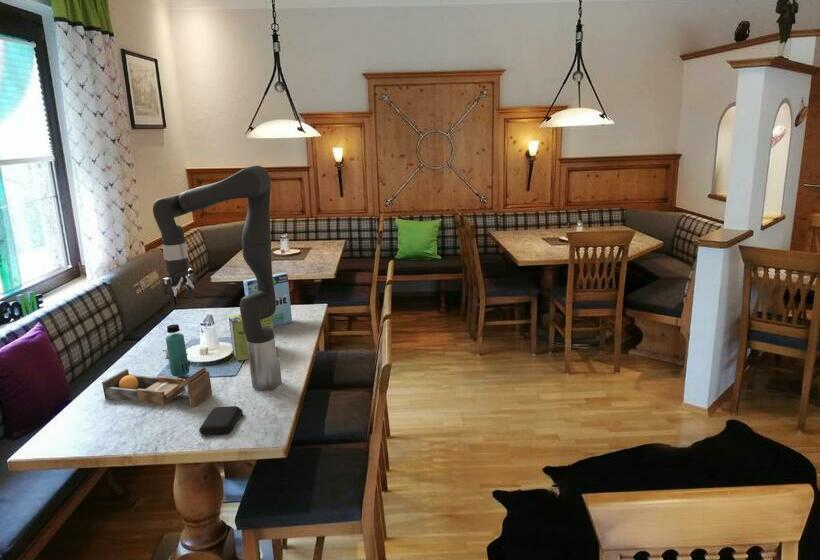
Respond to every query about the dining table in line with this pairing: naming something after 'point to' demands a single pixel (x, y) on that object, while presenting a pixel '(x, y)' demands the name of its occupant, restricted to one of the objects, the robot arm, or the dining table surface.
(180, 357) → the beverage bottle
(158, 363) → the dining table surface
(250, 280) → the gum box
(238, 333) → the protein box
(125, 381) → the ball
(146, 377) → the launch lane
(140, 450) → the dining table surface
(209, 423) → the carrying case or bag
